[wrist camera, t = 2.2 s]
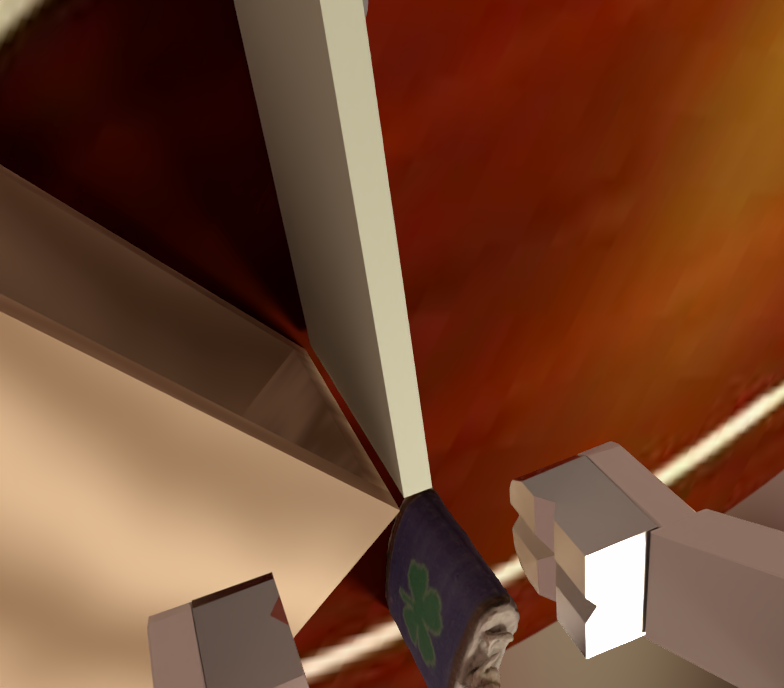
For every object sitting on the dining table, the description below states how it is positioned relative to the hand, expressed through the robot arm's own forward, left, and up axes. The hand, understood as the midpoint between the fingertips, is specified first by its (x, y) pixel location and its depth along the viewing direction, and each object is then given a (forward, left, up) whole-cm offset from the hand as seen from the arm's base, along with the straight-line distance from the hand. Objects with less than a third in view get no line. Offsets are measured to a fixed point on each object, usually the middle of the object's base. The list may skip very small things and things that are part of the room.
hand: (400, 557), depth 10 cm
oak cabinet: (+11, +1, -23) cm, 26 cm away
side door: (-3, +4, -23) cm, 23 cm away
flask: (+11, +23, -23) cm, 35 cm away
